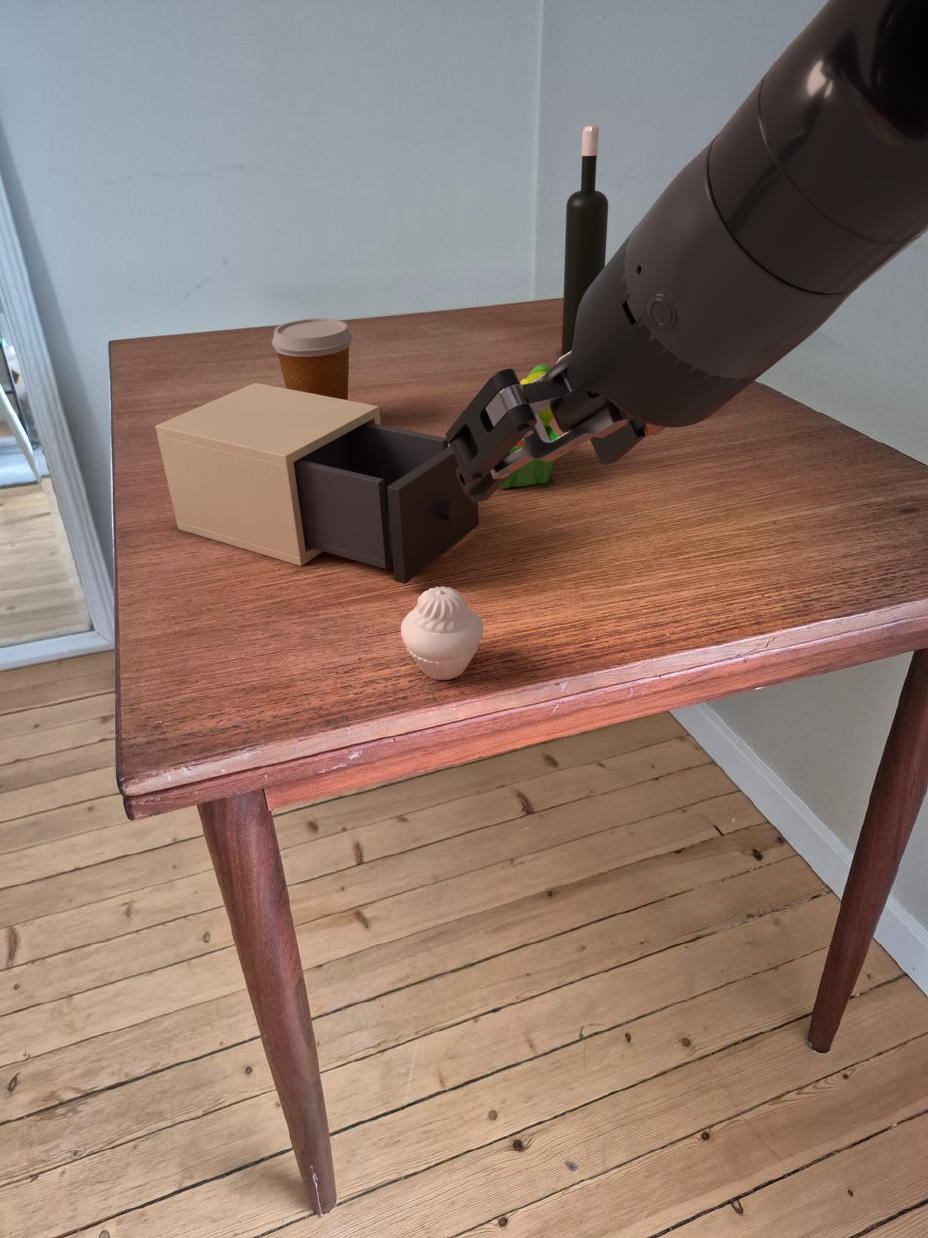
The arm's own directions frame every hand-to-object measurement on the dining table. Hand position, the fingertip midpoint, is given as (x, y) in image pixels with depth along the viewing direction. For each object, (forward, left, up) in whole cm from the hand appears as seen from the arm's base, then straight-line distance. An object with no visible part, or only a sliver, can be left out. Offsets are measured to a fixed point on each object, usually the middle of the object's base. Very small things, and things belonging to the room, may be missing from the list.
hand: (537, 466), depth 49 cm
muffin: (-6, +10, -21) cm, 24 cm away
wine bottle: (+12, +90, -21) cm, 93 cm away
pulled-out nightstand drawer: (-13, +30, -20) cm, 38 cm away
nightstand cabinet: (-23, +36, -21) cm, 47 cm away
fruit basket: (+1, +47, -21) cm, 51 cm away
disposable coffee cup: (-23, +62, -21) cm, 69 cm away
